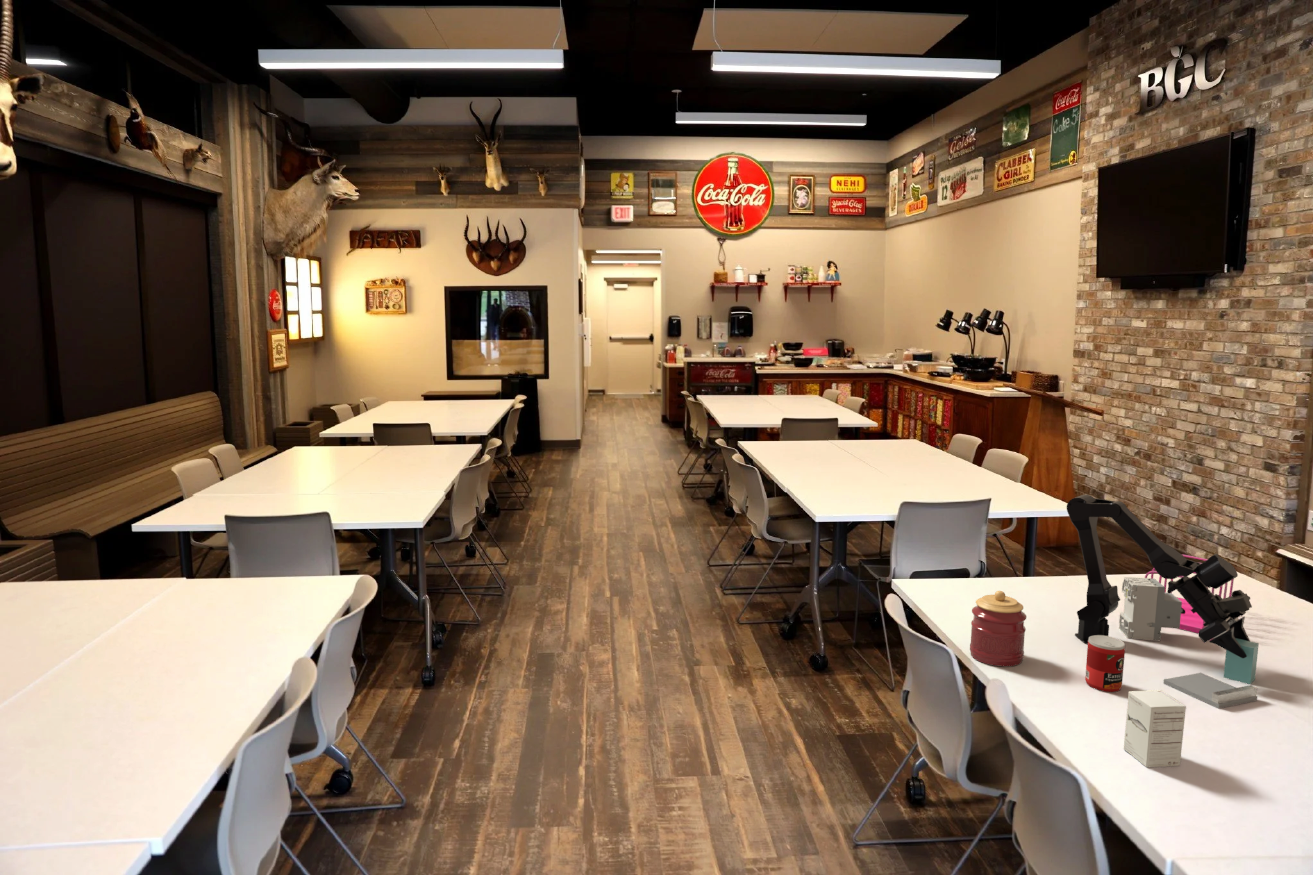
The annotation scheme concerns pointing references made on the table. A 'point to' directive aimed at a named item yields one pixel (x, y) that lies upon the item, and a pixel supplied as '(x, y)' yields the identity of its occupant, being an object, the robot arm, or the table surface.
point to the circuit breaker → (1148, 609)
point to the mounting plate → (1212, 690)
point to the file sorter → (1189, 619)
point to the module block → (1242, 663)
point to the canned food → (1105, 663)
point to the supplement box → (1154, 728)
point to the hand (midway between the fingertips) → (1248, 653)
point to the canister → (998, 630)
